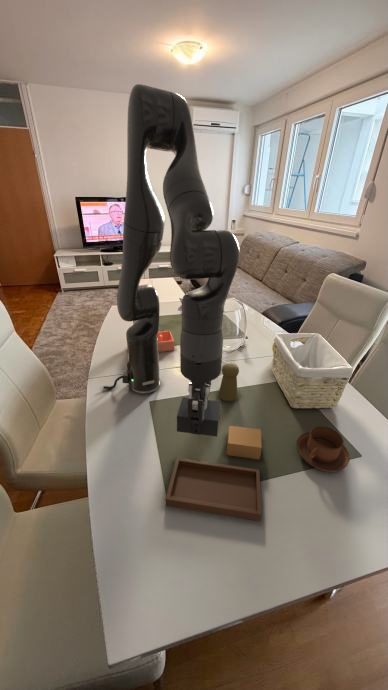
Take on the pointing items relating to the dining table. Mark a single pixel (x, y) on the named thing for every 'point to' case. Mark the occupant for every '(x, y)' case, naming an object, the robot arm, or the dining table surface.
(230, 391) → the pawn chess piece
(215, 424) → the black rectangular block
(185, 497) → the brown wooden tray
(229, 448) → the orange tan block
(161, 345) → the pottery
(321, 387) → the basket
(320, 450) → the cup and saucer
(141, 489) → the dining table surface
